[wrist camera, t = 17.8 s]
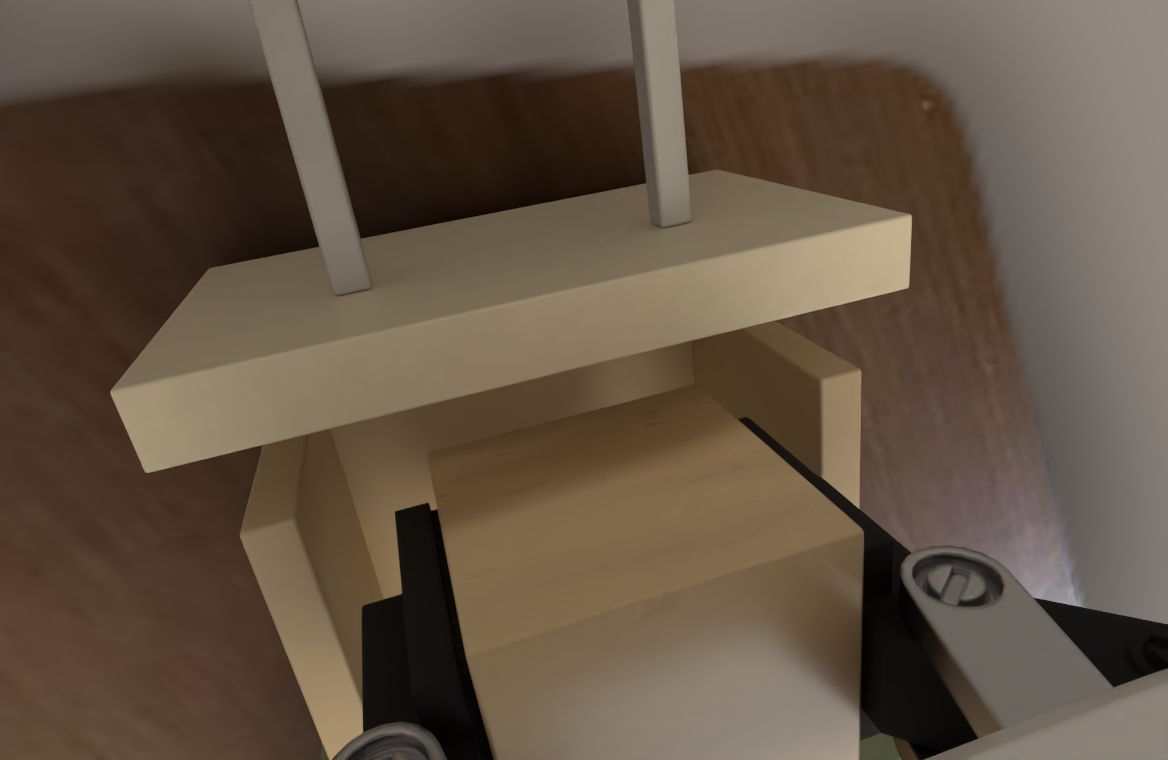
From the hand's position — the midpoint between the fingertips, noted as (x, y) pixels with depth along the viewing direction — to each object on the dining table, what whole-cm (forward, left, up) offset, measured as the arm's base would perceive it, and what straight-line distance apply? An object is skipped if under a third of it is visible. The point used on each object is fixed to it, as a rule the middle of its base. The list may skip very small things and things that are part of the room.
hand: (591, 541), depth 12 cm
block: (0, 0, 0) cm, 0 cm away
